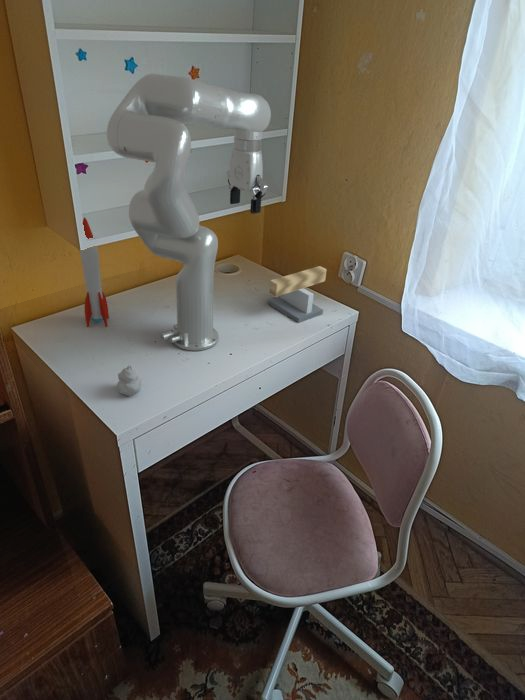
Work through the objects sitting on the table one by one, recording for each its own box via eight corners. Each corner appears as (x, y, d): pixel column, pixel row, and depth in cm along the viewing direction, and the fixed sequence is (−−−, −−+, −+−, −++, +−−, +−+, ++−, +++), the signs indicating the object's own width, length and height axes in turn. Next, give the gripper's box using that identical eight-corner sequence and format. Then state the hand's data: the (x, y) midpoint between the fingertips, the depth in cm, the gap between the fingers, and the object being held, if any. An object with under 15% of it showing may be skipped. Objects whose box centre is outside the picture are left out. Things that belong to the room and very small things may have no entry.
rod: (276, 296, 144) (277, 284, 142) (269, 292, 146) (270, 280, 144) (325, 281, 155) (326, 269, 153) (318, 277, 157) (319, 265, 155)
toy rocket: (107, 327, 138) (95, 221, 122) (86, 327, 137) (71, 221, 121) (109, 317, 143) (98, 214, 126) (89, 317, 142) (75, 213, 126)
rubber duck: (127, 402, 112) (123, 373, 108) (110, 389, 116) (107, 360, 111) (147, 393, 115) (145, 364, 111) (131, 380, 119) (128, 352, 115)
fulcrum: (298, 322, 147) (301, 300, 143) (268, 304, 156) (270, 282, 152) (322, 314, 153) (325, 292, 149) (292, 296, 162) (294, 275, 157)
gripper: (218, 140, 138) (217, 201, 147) (256, 153, 127) (253, 218, 137) (239, 138, 142) (237, 198, 152) (279, 150, 131) (274, 214, 141)
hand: (244, 208), depth 144 cm, fingers open, 9 cm apart
